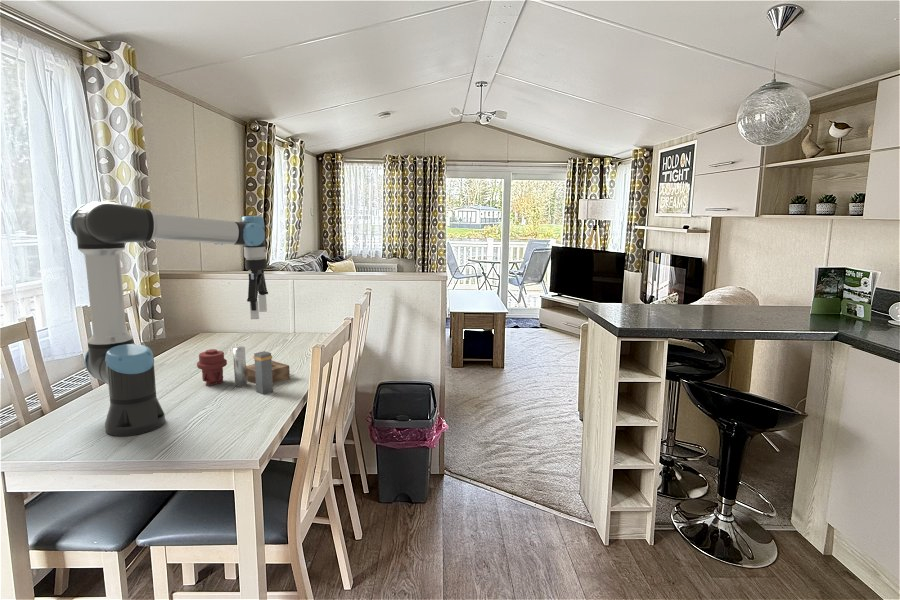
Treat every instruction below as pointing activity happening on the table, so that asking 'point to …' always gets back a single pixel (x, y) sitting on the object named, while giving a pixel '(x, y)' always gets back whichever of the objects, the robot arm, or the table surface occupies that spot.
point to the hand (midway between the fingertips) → (259, 315)
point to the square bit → (263, 372)
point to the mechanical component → (212, 366)
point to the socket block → (278, 372)
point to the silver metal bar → (239, 366)
